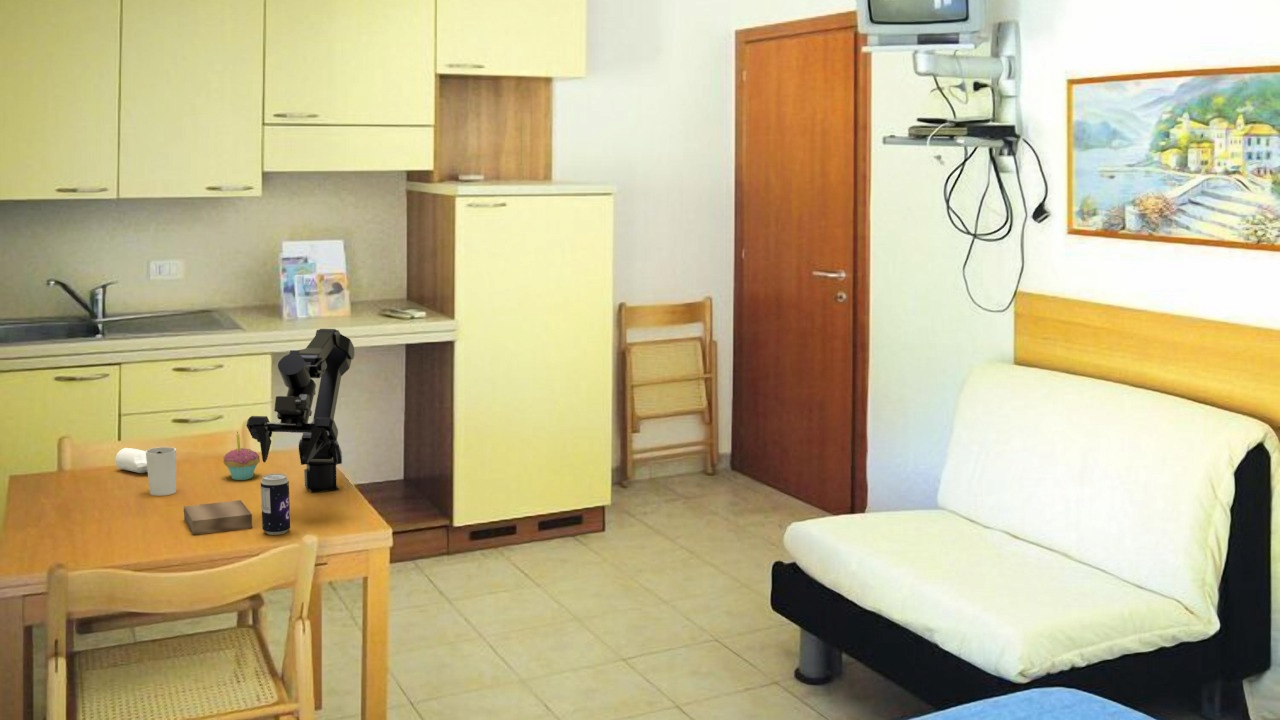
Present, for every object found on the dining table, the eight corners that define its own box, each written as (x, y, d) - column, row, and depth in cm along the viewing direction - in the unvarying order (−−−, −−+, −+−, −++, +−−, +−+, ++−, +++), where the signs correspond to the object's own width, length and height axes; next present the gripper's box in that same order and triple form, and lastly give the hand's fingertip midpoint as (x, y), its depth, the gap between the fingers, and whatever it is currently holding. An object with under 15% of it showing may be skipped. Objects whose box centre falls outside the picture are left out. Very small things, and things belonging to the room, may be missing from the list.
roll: (145, 479, 319) (144, 456, 318) (115, 471, 325) (113, 449, 324) (167, 474, 324) (165, 451, 323) (136, 466, 330) (135, 444, 329)
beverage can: (282, 536, 275) (280, 480, 273) (257, 534, 276) (255, 479, 274) (295, 529, 280) (293, 474, 278) (270, 527, 281) (268, 472, 279)
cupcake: (254, 482, 317) (252, 433, 315) (218, 481, 317) (216, 432, 315) (264, 473, 325) (262, 425, 323) (230, 472, 325) (228, 425, 323)
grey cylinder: (141, 494, 305) (139, 452, 303) (161, 487, 311) (159, 445, 310) (164, 497, 303) (162, 454, 301) (184, 490, 309) (182, 448, 307)
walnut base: (241, 513, 291) (240, 500, 291) (252, 527, 281) (251, 514, 280) (184, 519, 286) (183, 506, 285) (193, 535, 275) (192, 521, 275)
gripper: (247, 379, 286) (231, 441, 277) (333, 381, 285) (319, 443, 276) (260, 407, 295) (245, 468, 286) (343, 409, 294) (331, 470, 285)
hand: (285, 461), depth 283 cm, fingers open, 9 cm apart
